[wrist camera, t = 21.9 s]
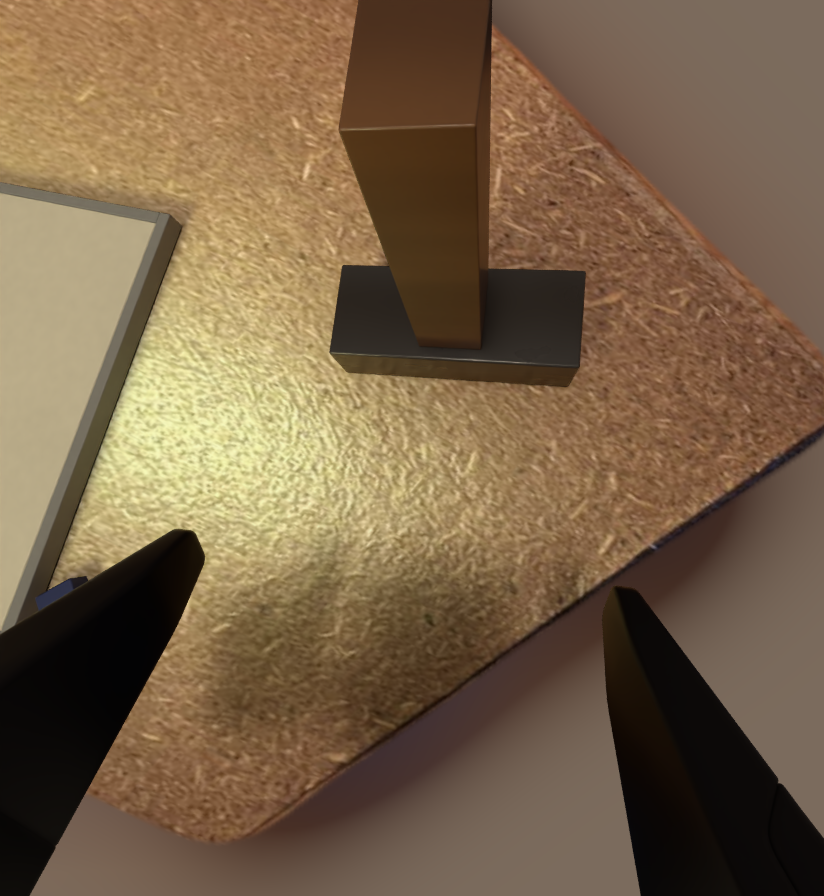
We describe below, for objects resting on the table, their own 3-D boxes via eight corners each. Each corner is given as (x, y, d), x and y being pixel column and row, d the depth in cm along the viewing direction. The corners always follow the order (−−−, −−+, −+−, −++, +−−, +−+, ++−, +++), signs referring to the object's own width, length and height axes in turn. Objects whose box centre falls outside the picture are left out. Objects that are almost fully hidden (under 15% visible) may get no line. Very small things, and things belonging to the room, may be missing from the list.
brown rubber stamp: (568, 387, 20) (715, 148, 7) (346, 372, 22) (147, 158, 9) (574, 300, 20) (720, -65, 8) (357, 292, 22) (185, -17, 9)
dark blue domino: (114, 655, 21) (96, 661, 20) (78, 674, 21) (59, 682, 20) (87, 575, 22) (69, 577, 21) (53, 594, 22) (33, 597, 21)
